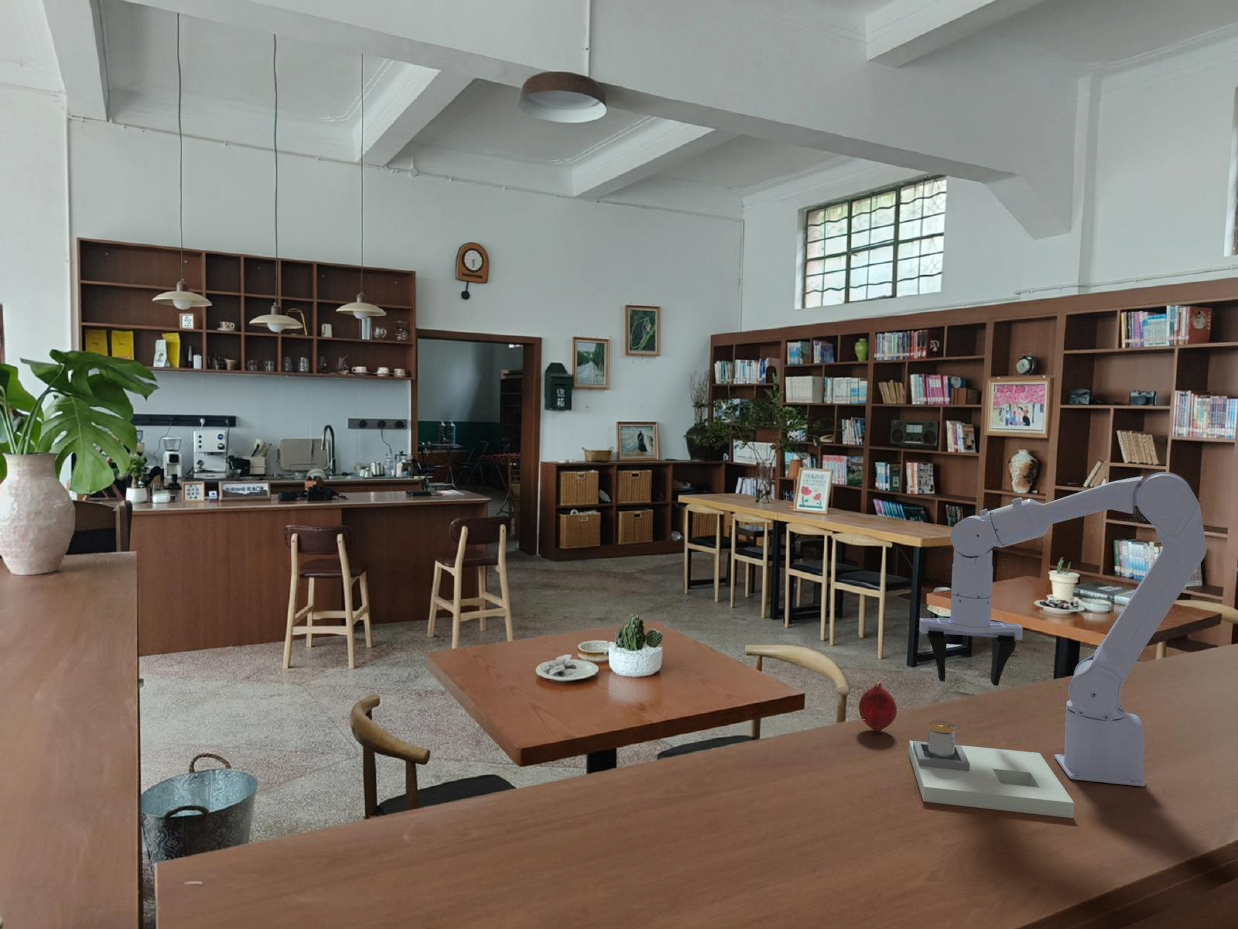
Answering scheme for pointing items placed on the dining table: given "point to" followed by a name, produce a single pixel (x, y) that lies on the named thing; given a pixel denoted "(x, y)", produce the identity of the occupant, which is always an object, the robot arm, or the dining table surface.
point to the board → (990, 780)
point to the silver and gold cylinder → (941, 740)
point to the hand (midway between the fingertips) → (967, 681)
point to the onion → (877, 708)
